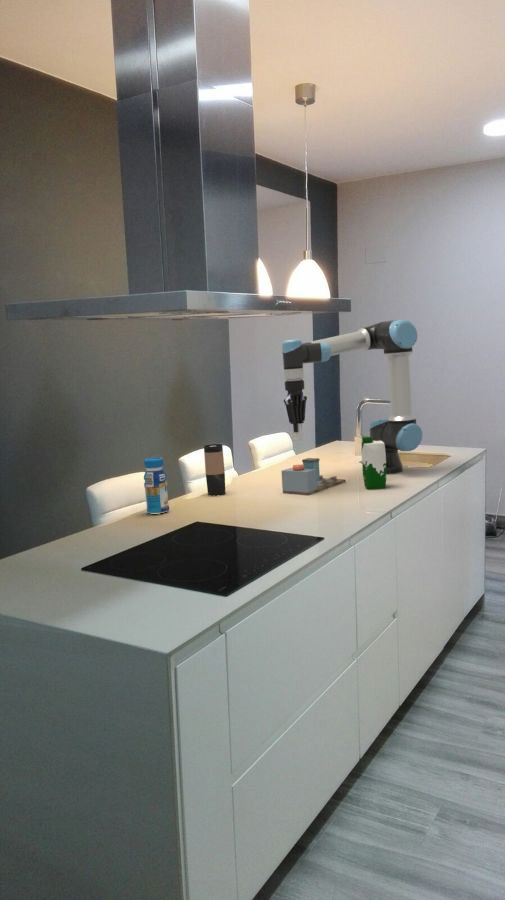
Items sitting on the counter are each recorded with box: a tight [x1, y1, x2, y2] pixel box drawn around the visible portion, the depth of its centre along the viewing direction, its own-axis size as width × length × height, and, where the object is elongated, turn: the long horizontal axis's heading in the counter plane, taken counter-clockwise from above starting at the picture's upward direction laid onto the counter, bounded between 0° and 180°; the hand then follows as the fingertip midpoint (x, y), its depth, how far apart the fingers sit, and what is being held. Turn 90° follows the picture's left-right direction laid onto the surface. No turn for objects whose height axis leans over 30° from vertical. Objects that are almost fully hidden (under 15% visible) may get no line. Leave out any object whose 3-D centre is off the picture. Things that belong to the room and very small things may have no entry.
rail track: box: [282, 474, 347, 496], centre depth 290 cm, size 28×12×3 cm, turn 142°
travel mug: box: [203, 443, 226, 497], centre depth 289 cm, size 8×8×20 cm
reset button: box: [292, 464, 304, 471], centre depth 281 cm, size 4×4×4 cm
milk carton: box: [361, 436, 387, 491], centre depth 281 cm, size 9×9×20 cm
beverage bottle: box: [143, 457, 170, 514], centre depth 262 cm, size 8×8×20 cm
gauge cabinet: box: [281, 467, 317, 493], centre depth 282 cm, size 6×12×8 cm, turn 52°
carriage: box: [301, 457, 321, 482], centre depth 288 cm, size 4×5×11 cm
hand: (298, 440), depth 281 cm, fingers closed
